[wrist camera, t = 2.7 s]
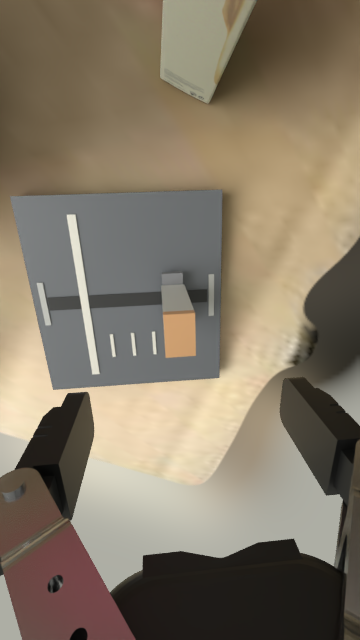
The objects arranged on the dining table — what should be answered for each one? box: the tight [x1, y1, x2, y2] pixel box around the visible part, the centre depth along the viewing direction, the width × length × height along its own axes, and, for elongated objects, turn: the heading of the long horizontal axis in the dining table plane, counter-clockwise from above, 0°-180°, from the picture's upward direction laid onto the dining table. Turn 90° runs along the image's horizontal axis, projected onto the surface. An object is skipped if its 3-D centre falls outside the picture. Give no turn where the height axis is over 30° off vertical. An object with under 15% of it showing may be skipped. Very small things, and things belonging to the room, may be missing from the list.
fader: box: [161, 271, 196, 358], centre depth 22 cm, size 2×5×8 cm, turn 2°
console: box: [10, 190, 222, 390], centre depth 27 cm, size 17×18×2 cm
